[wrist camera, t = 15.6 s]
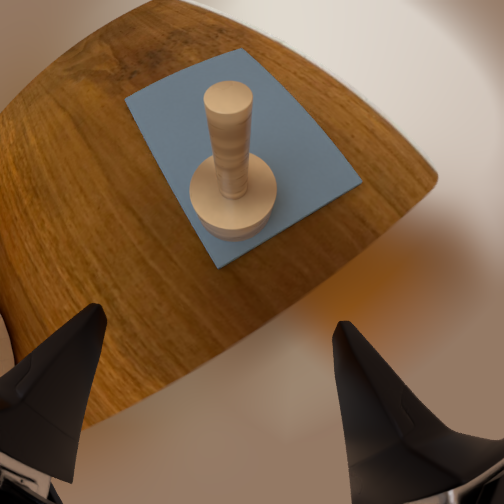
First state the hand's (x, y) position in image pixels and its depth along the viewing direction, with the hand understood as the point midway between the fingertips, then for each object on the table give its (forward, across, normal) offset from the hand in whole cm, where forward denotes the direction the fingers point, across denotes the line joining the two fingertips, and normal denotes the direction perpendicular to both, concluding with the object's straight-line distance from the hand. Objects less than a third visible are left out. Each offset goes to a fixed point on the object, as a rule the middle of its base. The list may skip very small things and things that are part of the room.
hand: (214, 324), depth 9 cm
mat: (+18, +1, -4) cm, 18 cm away
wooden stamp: (+12, 0, +1) cm, 13 cm away
